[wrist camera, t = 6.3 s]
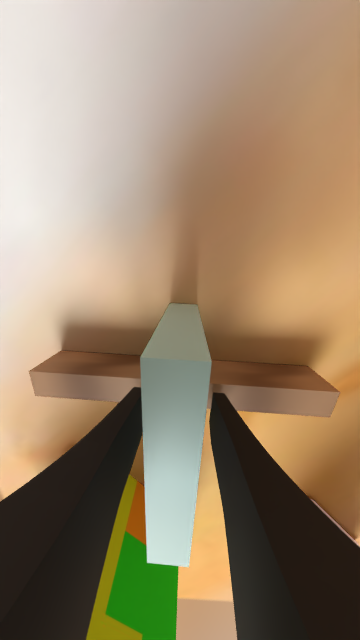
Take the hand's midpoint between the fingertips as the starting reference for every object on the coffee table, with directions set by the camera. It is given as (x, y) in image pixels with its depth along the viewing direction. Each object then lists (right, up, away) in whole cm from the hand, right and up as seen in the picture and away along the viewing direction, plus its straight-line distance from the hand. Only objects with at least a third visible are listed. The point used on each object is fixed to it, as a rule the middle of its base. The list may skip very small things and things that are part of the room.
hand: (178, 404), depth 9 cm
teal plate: (0, +1, +3) cm, 3 cm away
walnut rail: (0, +1, +3) cm, 3 cm away
